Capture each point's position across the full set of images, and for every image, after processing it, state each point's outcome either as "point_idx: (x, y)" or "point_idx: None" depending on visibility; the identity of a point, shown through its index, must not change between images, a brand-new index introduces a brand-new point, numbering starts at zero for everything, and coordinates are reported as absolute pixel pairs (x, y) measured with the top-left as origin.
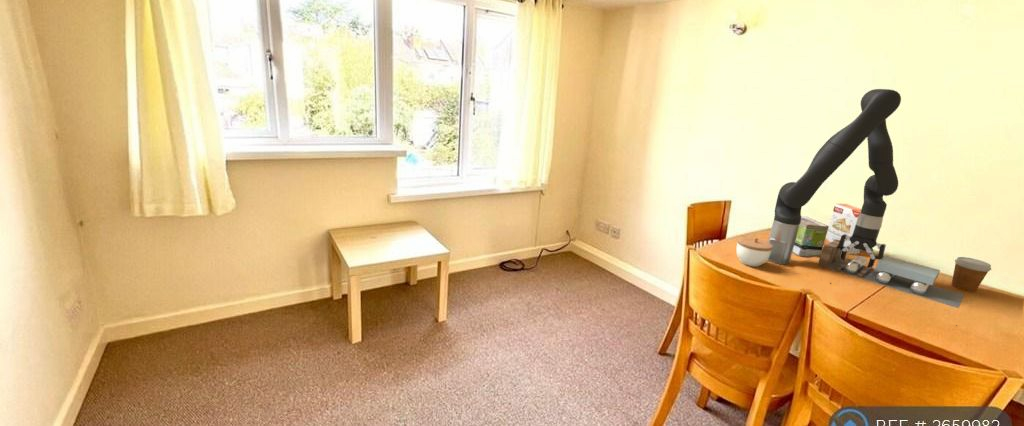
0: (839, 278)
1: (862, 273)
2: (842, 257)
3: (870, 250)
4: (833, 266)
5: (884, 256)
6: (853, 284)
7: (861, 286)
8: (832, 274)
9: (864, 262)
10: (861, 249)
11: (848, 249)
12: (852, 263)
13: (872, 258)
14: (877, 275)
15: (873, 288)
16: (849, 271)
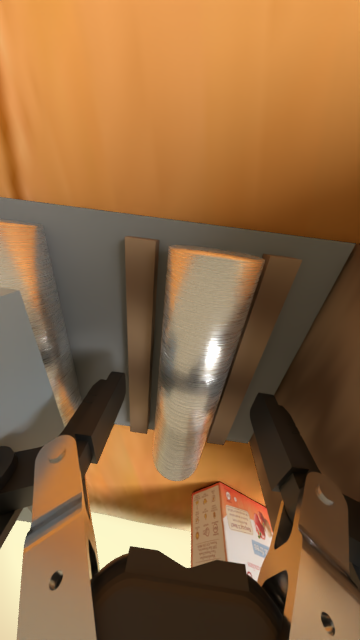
0: (265, 97)
1: (135, 288)
2: (278, 408)
3: (22, 609)
4: (294, 321)
5: (29, 512)
6: (152, 9)
7: (93, 28)
8: (309, 172)
9: (154, 432)
10: (167, 575)
11: (224, 515)
12: (211, 308)
13: (66, 445)
14: (4, 223)
15: (29, 95)
16: (210, 250)
